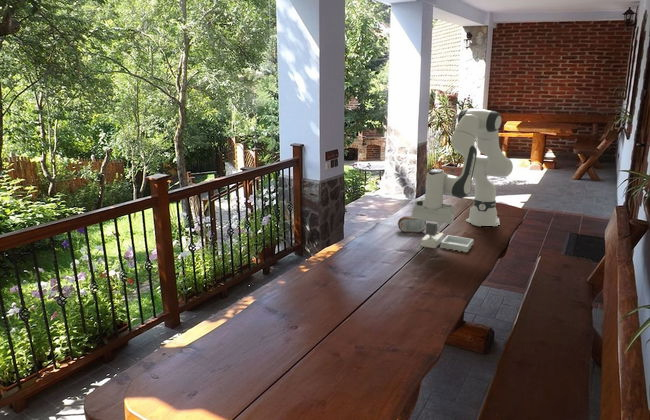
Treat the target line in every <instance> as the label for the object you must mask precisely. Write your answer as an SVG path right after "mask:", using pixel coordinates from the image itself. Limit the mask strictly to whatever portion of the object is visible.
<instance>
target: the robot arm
mask: <svg viewBox="0 0 650 420" xmlns="http://www.w3.org/2000/svg"><path fill="white" fill-rule="evenodd" d="M502 123H503V121H502V115H501V113H500V112H499V111H495V110H488V109H486V108H470V107H469V108H468V107H466V108H463V109H462V110H461V111H460V112H459V114H458V116H457V125H456V127H455V130H454V132H453V134H452V137H451V141H450V142H451V143H450V144H451V146H452V148H453V150H454V151H455V152H456V153H458V154H460V155H461V156H462V157H463V158H464V159H463V165H462V169H461V174H460V175H459V176H457V175H453V174H448V173H446V172H444V170H443V169H441V168H433V169H429V170H428V171H427V173H426V178H425V186H424V187H425V194H424V197H420V198H418V199H416V200H415V201H414V206H413V207H412V212H411V217H412V218H413V219H419V220H422V223H423V225H424V229H425V230H426V224H427V222H429V221H430V222H437V223H438V227H436V231H437V232H439V231H440V230H441V229H440V228H441V226H442V224H447V225H451V224H453V222H454V219H455V218H454V217H455V210H456V209H455V207H454V206H453V205H452V204H447V203H444V194H445V195H448V196H453V197H456V198H457V199H463V198H466V197H467V196H468V195H470V192H471V190H472V182H473V181H474V184H475V185H474V186H475V187H474V188H475V189H474V198H473V205H472V206H471V207H470V209H469V216H468V218H466V219H465V222H467V223H469V224H470V223H471V224H470V225H473V226H476V227H481V226H493V227H499V226H498V225H500V224H501V223H500V217H498V210H497V208H496V206H497V200H496V197H497V187H496V185H495V183H493V182H492V181H490V180H489V178H488V177H495V178H497V177H498V178H506V177H508V176H510V175H511V173H512V172H513V168H514V165H513V162H512V160H511V159H510V158H509V157H508V156H506V155H505V154H504V153H503V151H502V149H501V147H500V139H499V138H500V137H499V136H500V135H499V134H500V133H499V129H500V127H501V126H502ZM475 142H477V143H475ZM475 144H476V147H477V148H476V147H475ZM477 149H478V151H479V152H480V153H482V154H478V151H477ZM472 180H473V181H472ZM500 226H501V225H500Z"/></svg>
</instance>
